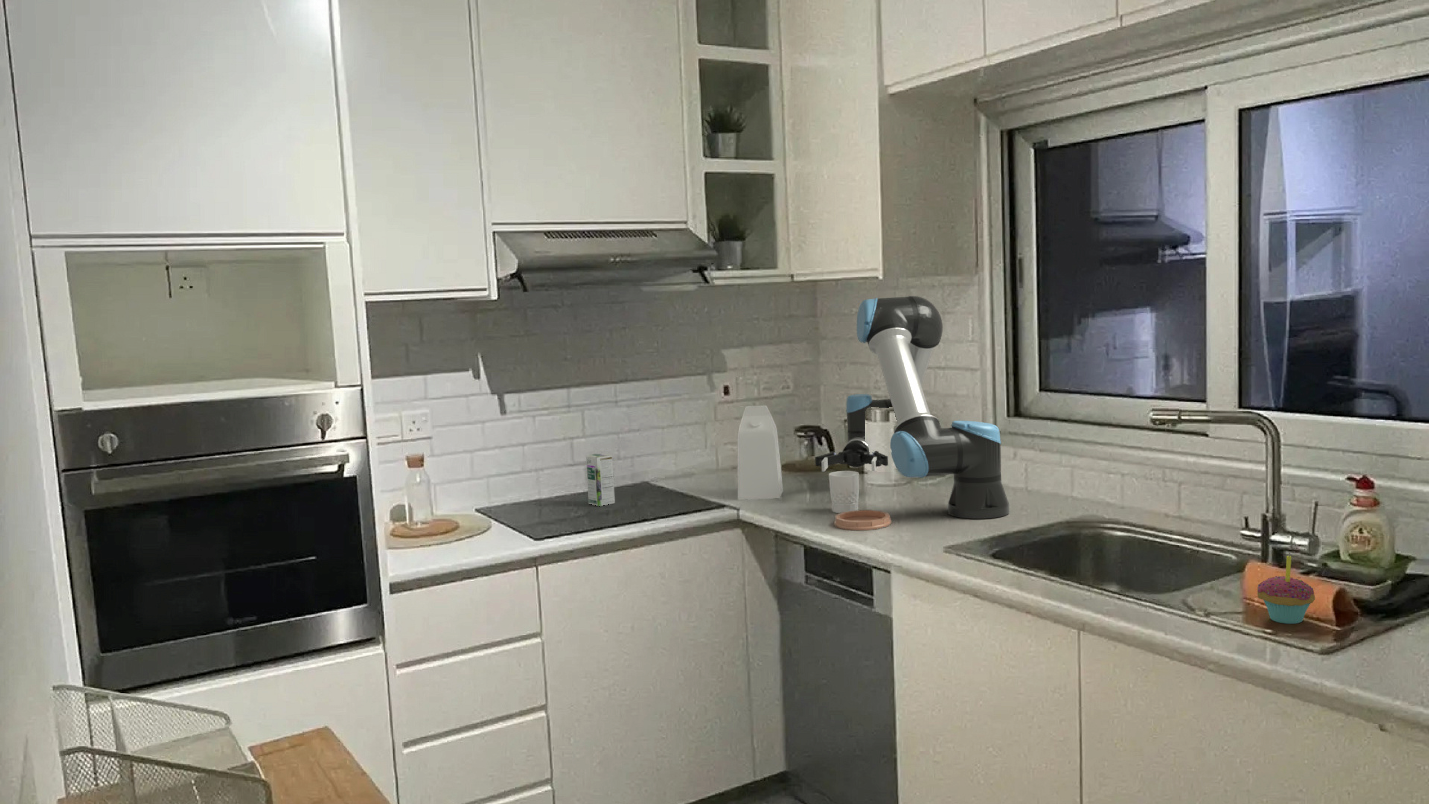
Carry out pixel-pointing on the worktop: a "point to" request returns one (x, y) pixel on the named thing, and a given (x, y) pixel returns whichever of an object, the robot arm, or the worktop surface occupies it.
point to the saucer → (862, 520)
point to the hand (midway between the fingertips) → (847, 466)
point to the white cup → (844, 491)
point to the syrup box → (600, 479)
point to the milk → (758, 455)
